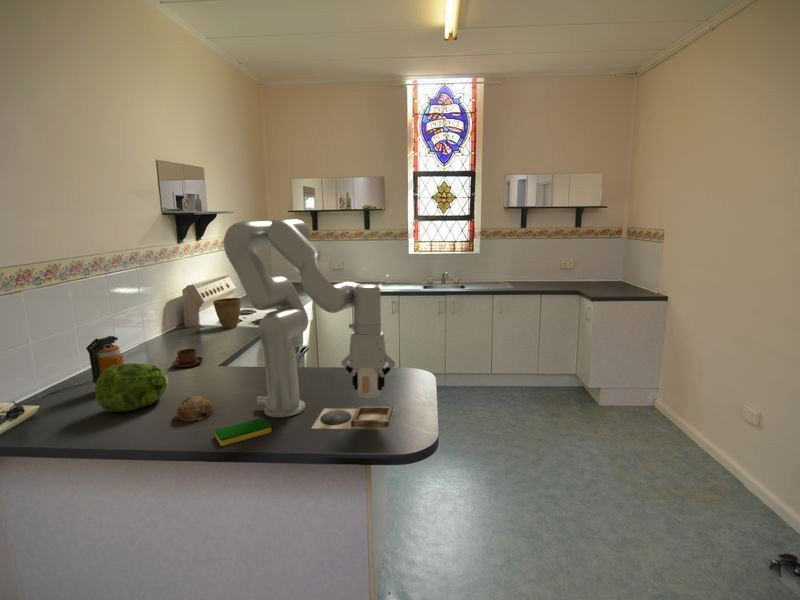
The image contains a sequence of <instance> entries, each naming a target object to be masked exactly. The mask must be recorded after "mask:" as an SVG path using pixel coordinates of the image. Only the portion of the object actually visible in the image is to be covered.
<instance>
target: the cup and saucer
mask: <svg viewBox="0 0 800 600" xmlns="http://www.w3.org/2000/svg"><path fill="white" fill-rule="evenodd" d="M176 353H177V356H176V358H175V360H174V361H172V365H173V366H174V367H175V368H176V367H177V368H190V367H193V366H197V365H199V364H201V363H202V362H203V360H204V357H202V356H198V354H197V349H195V348H186V349H181V350H178V351H177V352H176Z"/></svg>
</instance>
